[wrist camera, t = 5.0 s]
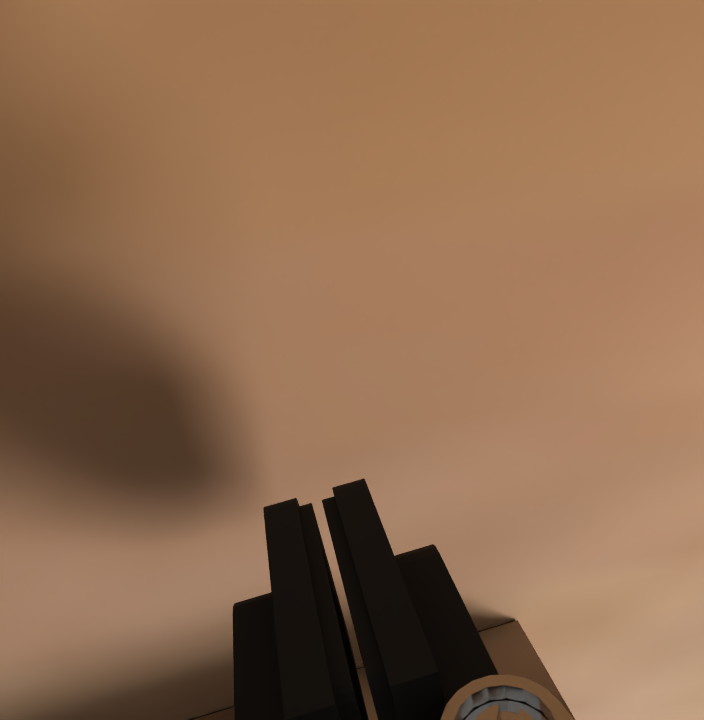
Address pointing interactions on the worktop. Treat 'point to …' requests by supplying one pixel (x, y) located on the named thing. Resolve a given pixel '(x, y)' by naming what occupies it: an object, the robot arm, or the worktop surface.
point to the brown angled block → (505, 651)
